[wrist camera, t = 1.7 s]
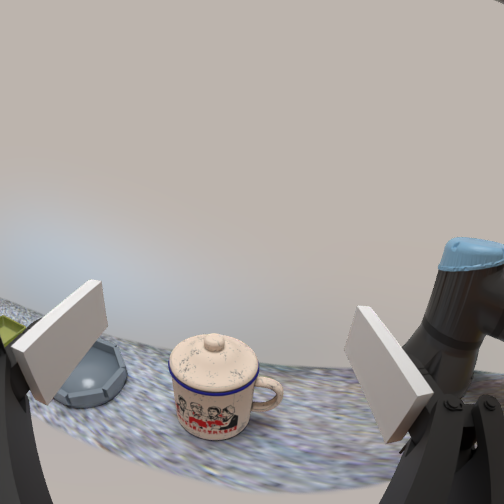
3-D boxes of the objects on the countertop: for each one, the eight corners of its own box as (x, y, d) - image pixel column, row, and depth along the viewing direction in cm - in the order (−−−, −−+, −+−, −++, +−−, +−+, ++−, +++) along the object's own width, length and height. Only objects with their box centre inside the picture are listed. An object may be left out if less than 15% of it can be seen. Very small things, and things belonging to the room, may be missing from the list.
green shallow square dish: (-23, 344, 26) (-27, 334, 25) (5, 323, 34) (2, 314, 33) (0, 361, 25) (-5, 350, 24) (29, 336, 33) (26, 326, 33)
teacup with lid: (164, 431, 24) (149, 355, 21) (188, 382, 33) (184, 307, 29) (272, 453, 23) (293, 382, 20) (278, 397, 32) (293, 324, 28)
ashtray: (141, 364, 34) (139, 352, 34) (94, 423, 22) (89, 411, 22) (78, 340, 36) (75, 328, 35) (30, 382, 24) (24, 369, 23)
